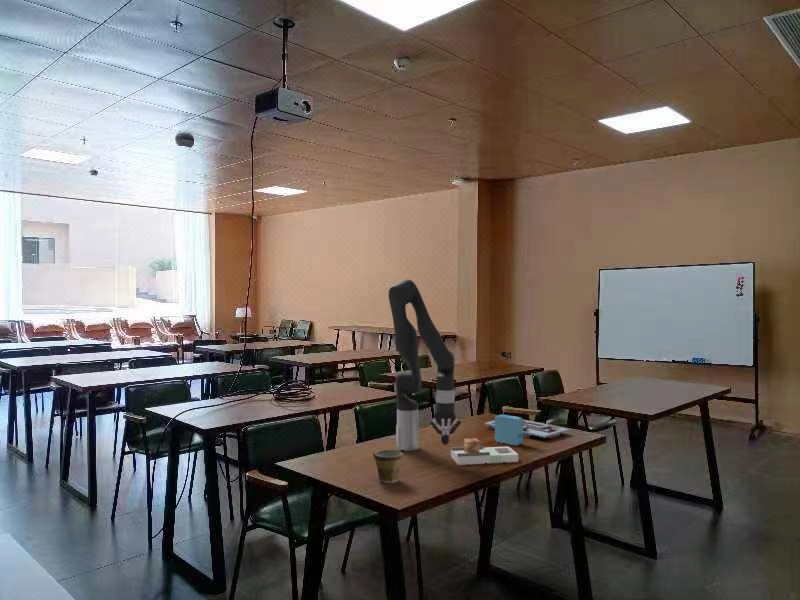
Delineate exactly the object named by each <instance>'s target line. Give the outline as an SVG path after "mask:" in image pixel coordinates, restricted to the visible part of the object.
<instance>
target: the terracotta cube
mask: <svg viewBox="0 0 800 600" xmlns="http://www.w3.org/2000/svg"><path fill="white" fill-rule="evenodd" d="M479 446H480V440H479V439H477V438H476V437H474V438H473V437H472V438H471V437H470V438H463V447H464V452H465V453H476V452H479Z"/></svg>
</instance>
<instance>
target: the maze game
mask: <svg viewBox="0 0 800 600" xmlns="http://www.w3.org/2000/svg"><path fill="white" fill-rule="evenodd" d="M522 420H523V436H525V437H524V438H526V437H529V438H531V437H532V436H533V435H534V436H533V437H537V436H539V437H538V438H542V437H543V439H546V438H549V439H548V440H551V439H550V438H552V439H555V438H558V437H557V436H559V437H561V436H562V433H563V434H564V433H566V432H569V431H570V429H569V428H565V427H561V426H557V425H552V424H546V423H541V422H537V421H531V420H527V419H522ZM484 424H485V425H487V426H489V429H490V430H493V429H495V420H492V421H491V420H490V421H487V422H484ZM530 436H531V437H530ZM554 437H555V438H554Z"/></svg>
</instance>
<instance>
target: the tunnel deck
mask: <svg viewBox="0 0 800 600" xmlns="http://www.w3.org/2000/svg"><path fill="white" fill-rule="evenodd" d="M450 457H451V458H452V459H453V461H455V463H456V464H457V465H458V466H465V465H467V464H468V465H486V464H485V463H487V464H503V462H506V463H519V454H518V453H517V452H516V451H514V449H512V448H511V447H510V446H508V445H507V446H491V447H487V446H486V447H484V446H483V445H479V452H476V453H465V452H464V446H457V447H456V446H453V447H451V448H450Z"/></svg>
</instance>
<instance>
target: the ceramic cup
mask: <svg viewBox="0 0 800 600" xmlns="http://www.w3.org/2000/svg"><path fill="white" fill-rule="evenodd" d="M372 455H373V459H374V460H375V465H376V468H377V469H376V470H377V474H378V475H377V476H378V479H379V482H380V481H381V482H383V483H382V484H384V483H393V484H395V483H394V482H396V483H398V481H399V474H400V468H401V467H400V466H401V464H402V460H403V459H402V458H403V452H402V451H401V450H398V449H381V450H378V451H377V450H376V451H373V454H372ZM381 482H380V483H381Z"/></svg>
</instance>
